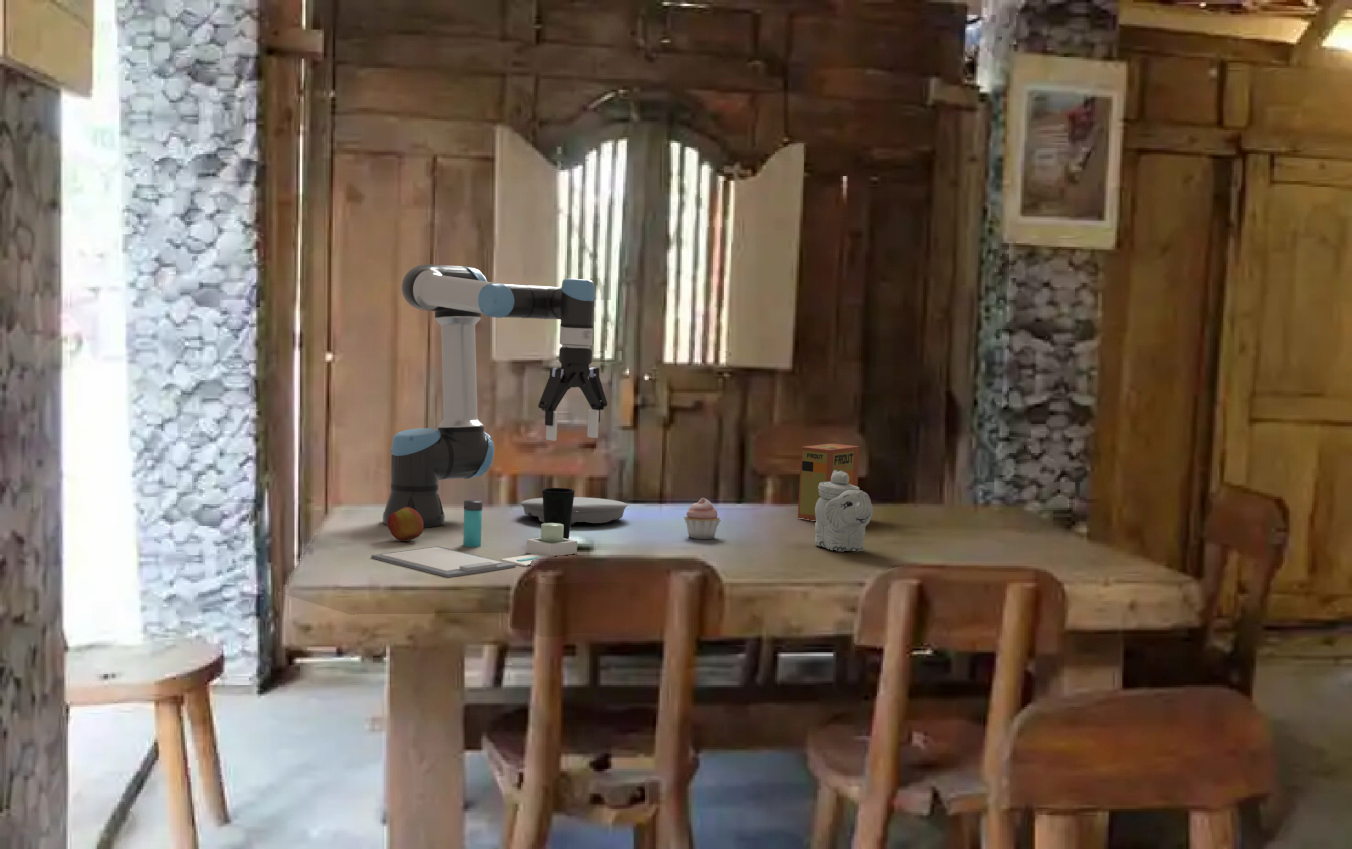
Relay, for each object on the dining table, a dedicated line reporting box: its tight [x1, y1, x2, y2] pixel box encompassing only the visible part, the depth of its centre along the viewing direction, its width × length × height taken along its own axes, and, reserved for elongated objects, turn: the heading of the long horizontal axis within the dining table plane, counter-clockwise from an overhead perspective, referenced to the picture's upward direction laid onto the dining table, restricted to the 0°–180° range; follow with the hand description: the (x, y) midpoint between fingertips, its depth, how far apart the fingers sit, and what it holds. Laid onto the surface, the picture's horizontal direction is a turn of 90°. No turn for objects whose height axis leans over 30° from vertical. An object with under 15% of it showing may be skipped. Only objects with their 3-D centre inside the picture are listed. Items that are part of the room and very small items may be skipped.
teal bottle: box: [462, 499, 483, 548], centre depth 304 cm, size 4×4×10 cm
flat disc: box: [520, 496, 629, 526], centre depth 348 cm, size 28×28×4 cm
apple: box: [387, 507, 424, 542], centre depth 306 cm, size 8×8×8 cm
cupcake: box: [683, 497, 722, 540], centre depth 328 cm, size 9×9×10 cm
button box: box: [525, 537, 578, 556], centre depth 299 cm, size 8×8×3 cm
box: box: [797, 443, 860, 520], centre depth 368 cm, size 17×9×20 cm, turn 144°
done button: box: [540, 522, 564, 543], centre depth 298 cm, size 5×5×4 cm
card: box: [500, 554, 544, 567], centre depth 289 cm, size 8×10×1 cm
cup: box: [541, 487, 575, 539], centre depth 316 cm, size 8×8×12 cm
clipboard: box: [370, 545, 517, 578], centre depth 283 cm, size 26×18×1 cm
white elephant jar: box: [814, 470, 874, 552], centre depth 319 cm, size 16×15×19 cm
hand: (572, 438), depth 307 cm, fingers open, 13 cm apart
